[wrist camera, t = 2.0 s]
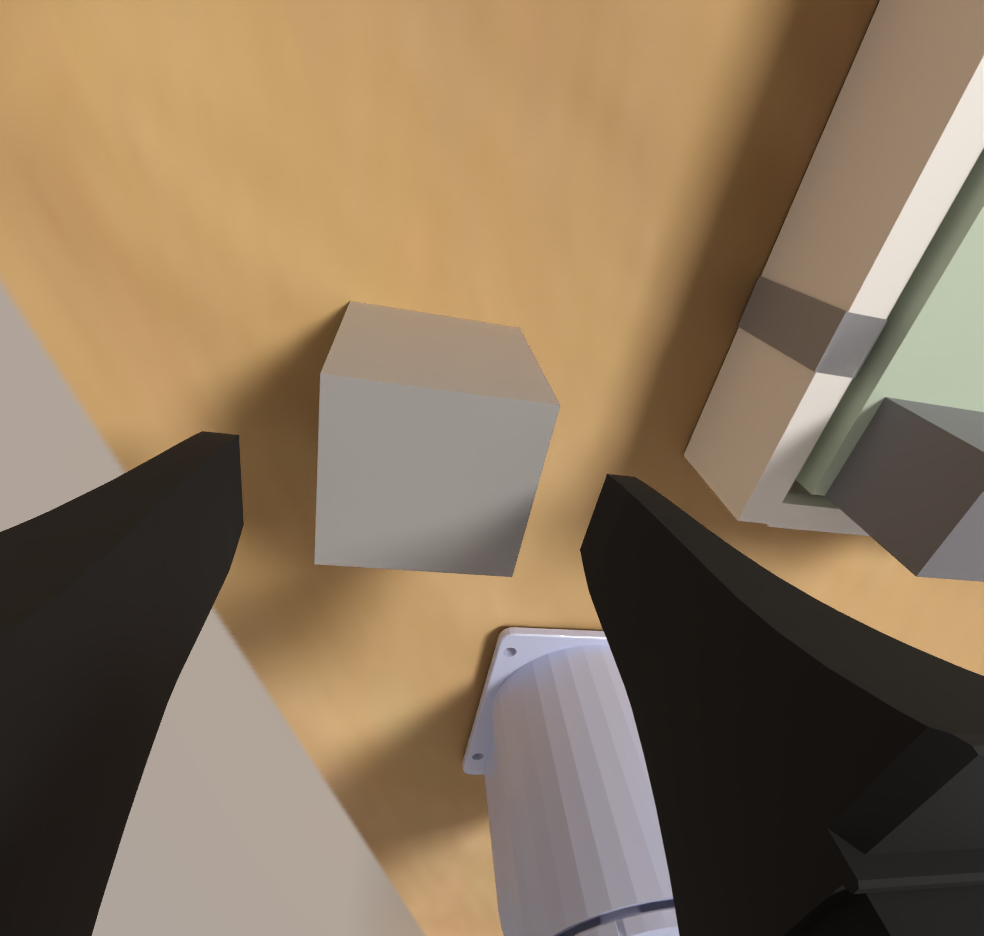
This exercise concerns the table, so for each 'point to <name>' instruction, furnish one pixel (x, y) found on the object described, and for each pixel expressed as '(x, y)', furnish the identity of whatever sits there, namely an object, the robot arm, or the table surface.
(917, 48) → the trapdoor frame
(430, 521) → the grey block
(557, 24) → the table surface
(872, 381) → the trapdoor
